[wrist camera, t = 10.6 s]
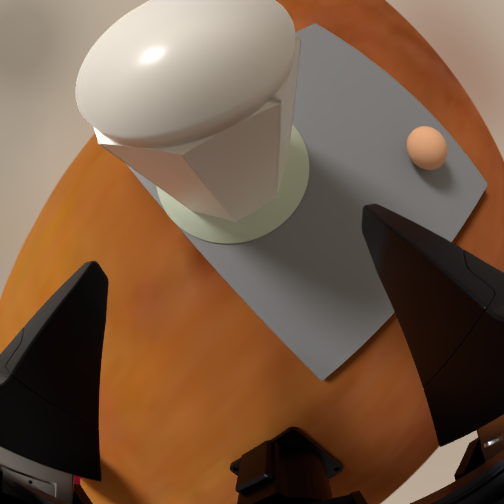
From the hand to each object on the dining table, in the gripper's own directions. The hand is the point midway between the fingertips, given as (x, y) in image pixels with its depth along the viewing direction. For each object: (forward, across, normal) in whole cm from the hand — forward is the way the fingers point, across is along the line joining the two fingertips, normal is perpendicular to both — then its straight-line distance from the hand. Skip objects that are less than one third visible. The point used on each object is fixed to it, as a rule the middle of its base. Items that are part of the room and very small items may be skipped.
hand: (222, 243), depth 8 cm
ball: (+8, -13, +1) cm, 15 cm away
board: (+10, -6, +3) cm, 12 cm away
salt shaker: (+10, 0, +2) cm, 10 cm away
